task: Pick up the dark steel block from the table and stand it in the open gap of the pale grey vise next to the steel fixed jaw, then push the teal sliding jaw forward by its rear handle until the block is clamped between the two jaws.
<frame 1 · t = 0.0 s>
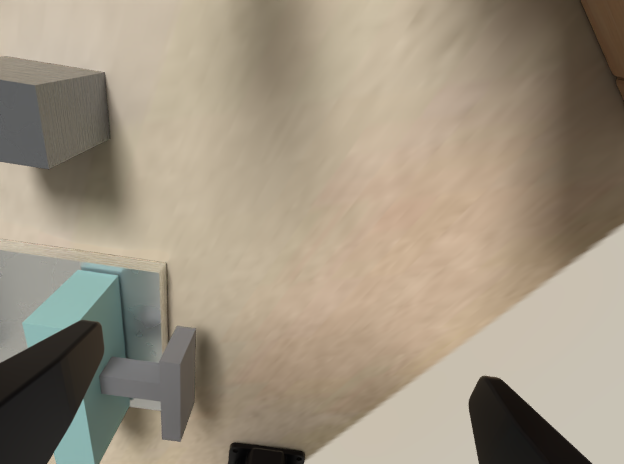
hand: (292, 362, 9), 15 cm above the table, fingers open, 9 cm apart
vise: (49, 321, 28), on the table
steel block: (61, 99, 21), on the table
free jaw: (127, 377, 25), point 4 cm above the table, slide at 0.0 cm
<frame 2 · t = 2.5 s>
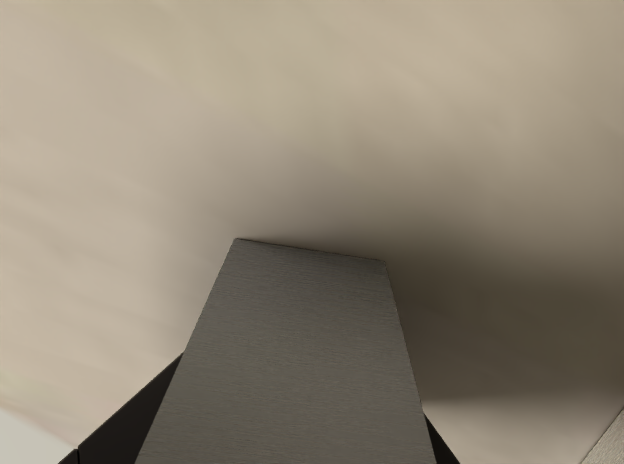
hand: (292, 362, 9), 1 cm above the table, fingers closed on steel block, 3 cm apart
steel block: (295, 332, 10), on the table, touching gripper
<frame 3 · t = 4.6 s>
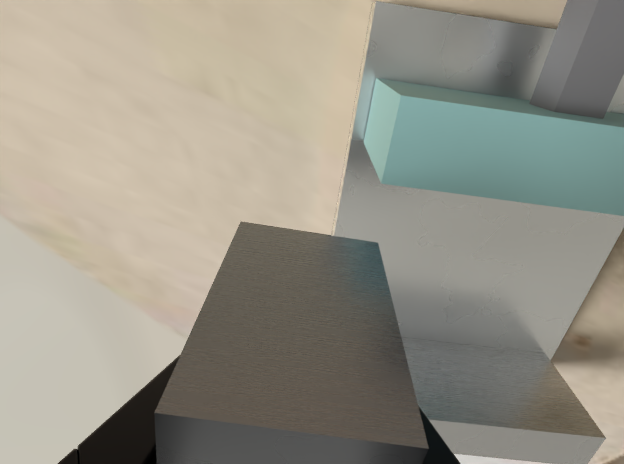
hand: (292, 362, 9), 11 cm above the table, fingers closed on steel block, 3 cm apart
vise: (467, 223, 19), on the table
steel block: (296, 310, 11), point 9 cm above the table, touching gripper
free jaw: (582, 67, 12), point 4 cm above the table, slide at 0.0 cm
when the fingers open (4 cm above the table, at t = 6.8 s): steel block stays where it is, resting on vise.
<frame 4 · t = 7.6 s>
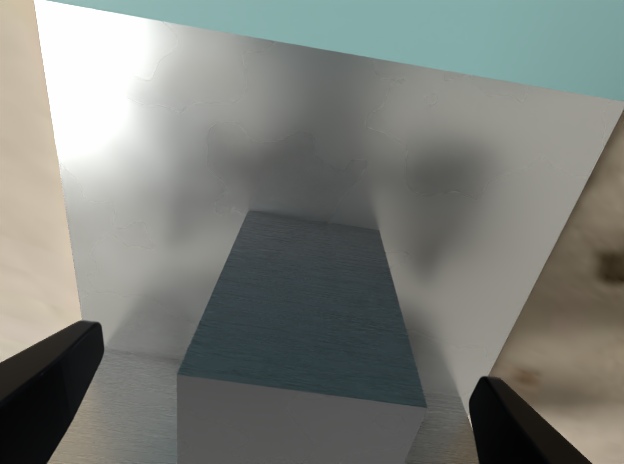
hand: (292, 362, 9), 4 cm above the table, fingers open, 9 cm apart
vise: (317, 178, 11), on the table
steel block: (300, 296, 11), point 1 cm above the table, touching vise
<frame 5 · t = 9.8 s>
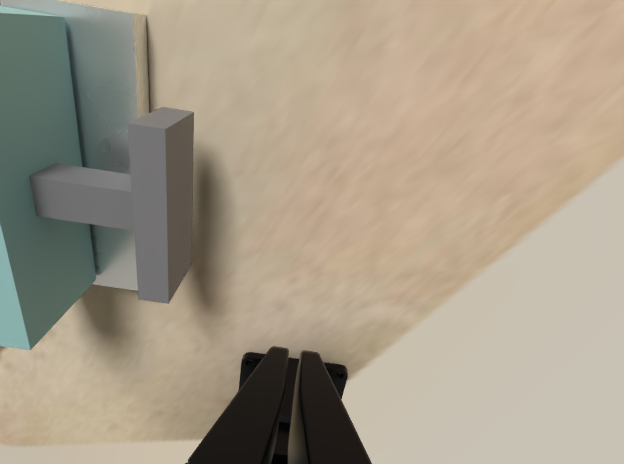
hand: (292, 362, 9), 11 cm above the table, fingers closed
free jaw: (81, 194, 15), point 4 cm above the table, slide at 0.0 cm
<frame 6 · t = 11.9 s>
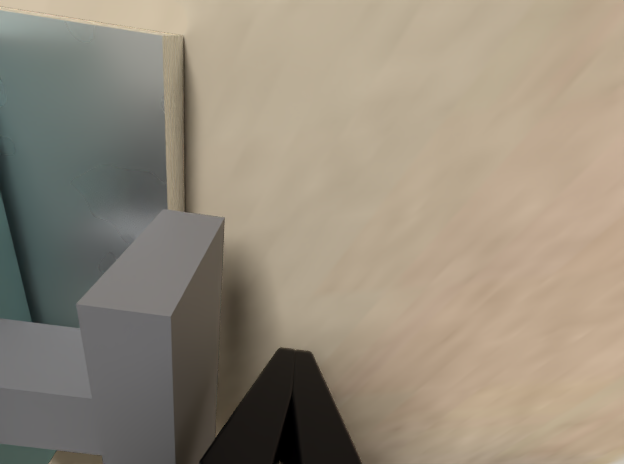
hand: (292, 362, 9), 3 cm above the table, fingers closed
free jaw: (8, 379, 8), point 4 cm above the table, slide at 1.1 cm, touching gripper
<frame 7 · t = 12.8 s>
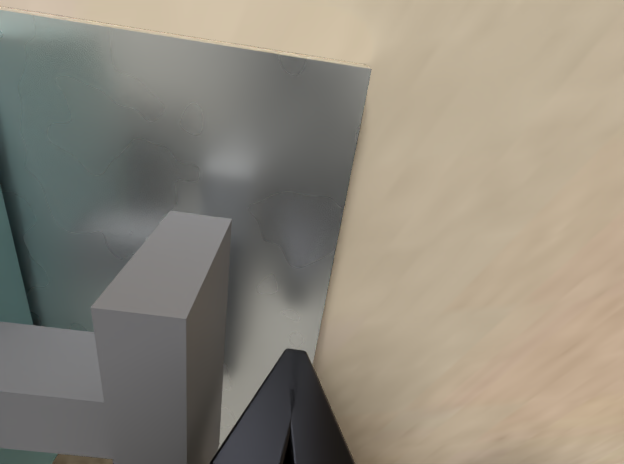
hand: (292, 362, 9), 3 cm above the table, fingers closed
vise: (23, 263, 11), on the table
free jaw: (13, 383, 8), point 4 cm above the table, slide at 5.0 cm, touching gripper, steel block
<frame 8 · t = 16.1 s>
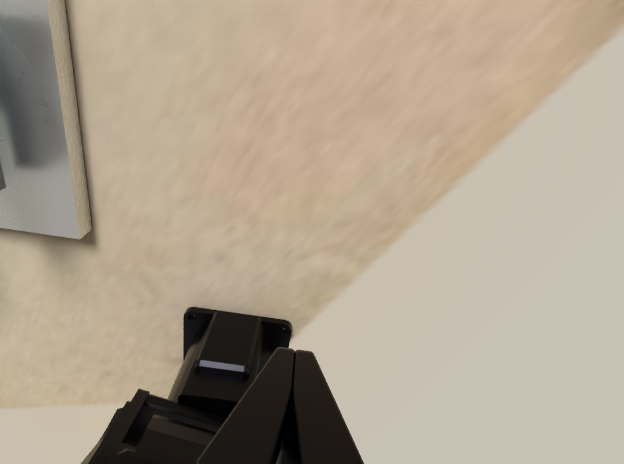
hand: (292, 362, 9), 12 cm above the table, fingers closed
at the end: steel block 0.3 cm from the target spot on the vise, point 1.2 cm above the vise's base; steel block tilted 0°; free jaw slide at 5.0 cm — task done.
